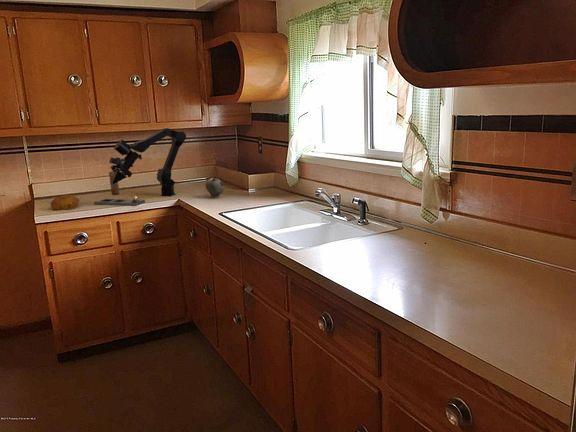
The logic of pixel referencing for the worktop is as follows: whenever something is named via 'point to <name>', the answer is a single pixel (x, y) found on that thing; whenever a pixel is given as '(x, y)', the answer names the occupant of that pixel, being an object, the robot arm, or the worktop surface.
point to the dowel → (114, 186)
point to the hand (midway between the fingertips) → (111, 183)
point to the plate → (120, 202)
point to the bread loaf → (64, 202)
